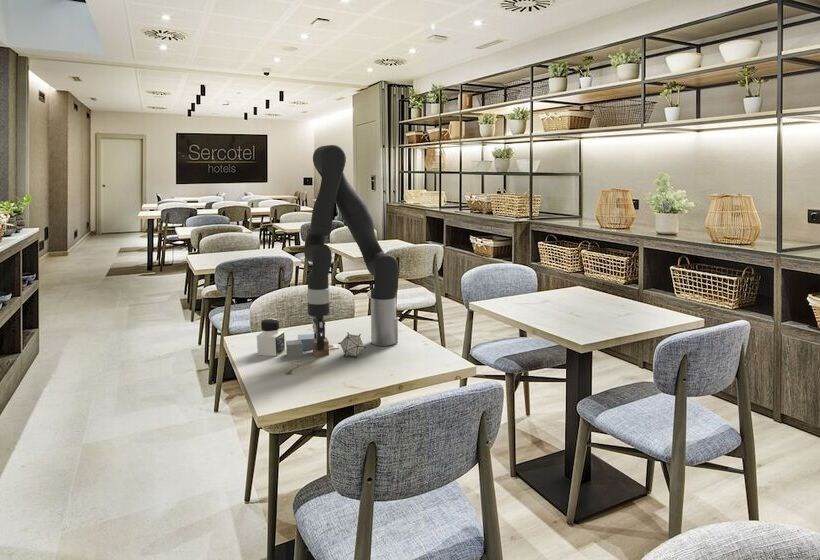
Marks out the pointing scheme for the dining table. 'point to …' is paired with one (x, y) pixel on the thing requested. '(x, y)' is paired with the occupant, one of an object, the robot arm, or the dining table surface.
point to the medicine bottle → (270, 338)
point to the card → (333, 346)
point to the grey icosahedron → (352, 345)
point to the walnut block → (320, 352)
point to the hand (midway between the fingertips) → (319, 346)
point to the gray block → (294, 349)
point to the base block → (306, 341)
